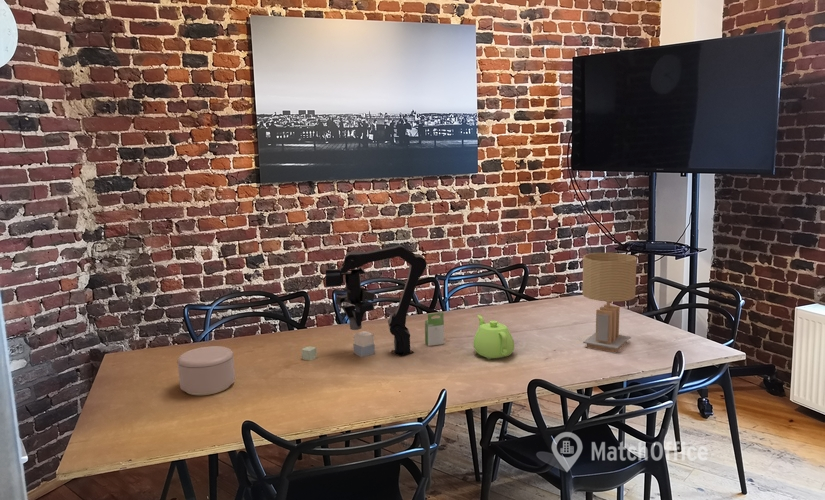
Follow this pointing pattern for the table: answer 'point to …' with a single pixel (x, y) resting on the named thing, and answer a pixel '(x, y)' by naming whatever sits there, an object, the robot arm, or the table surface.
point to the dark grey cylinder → (354, 324)
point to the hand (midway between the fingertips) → (355, 325)
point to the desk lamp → (608, 295)
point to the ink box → (434, 330)
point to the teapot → (493, 340)
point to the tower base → (364, 350)
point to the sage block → (309, 353)
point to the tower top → (363, 339)
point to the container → (206, 370)
